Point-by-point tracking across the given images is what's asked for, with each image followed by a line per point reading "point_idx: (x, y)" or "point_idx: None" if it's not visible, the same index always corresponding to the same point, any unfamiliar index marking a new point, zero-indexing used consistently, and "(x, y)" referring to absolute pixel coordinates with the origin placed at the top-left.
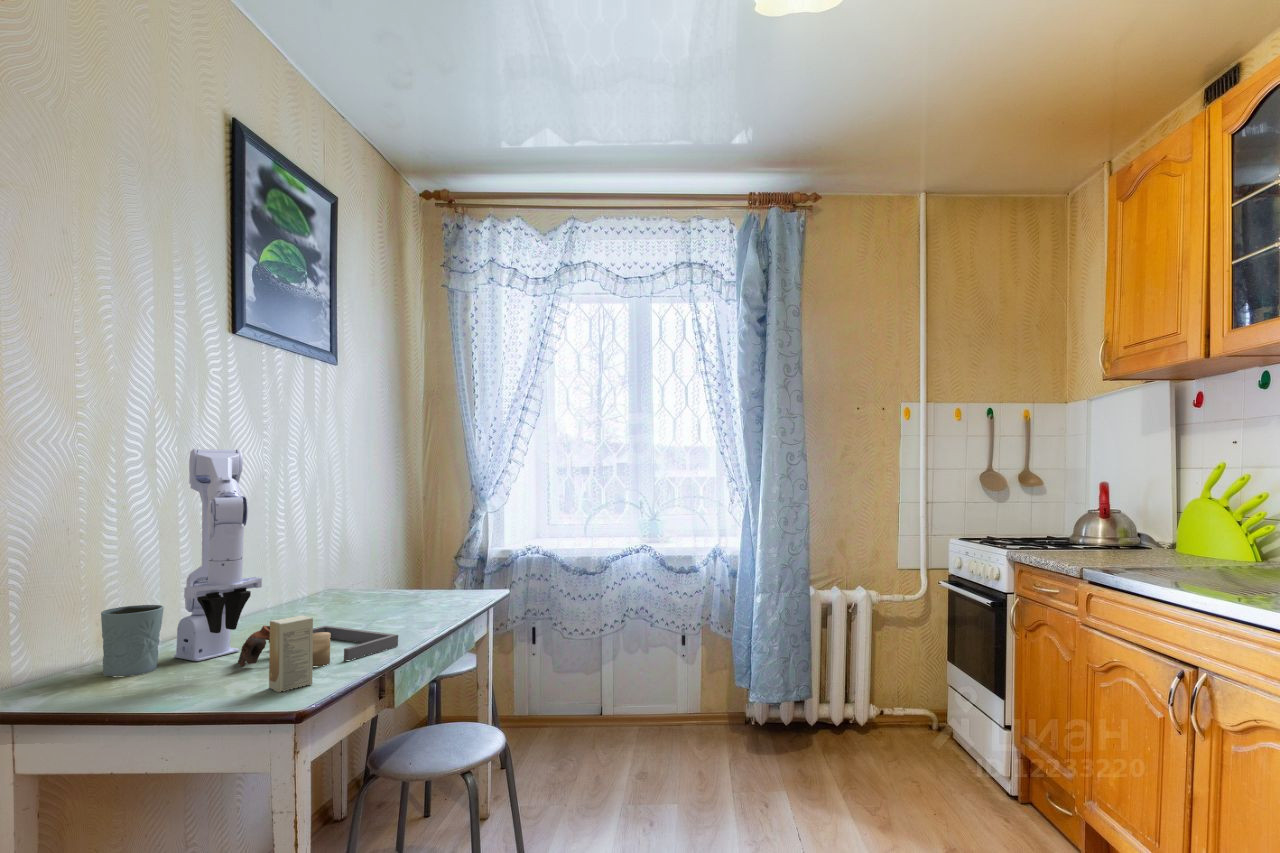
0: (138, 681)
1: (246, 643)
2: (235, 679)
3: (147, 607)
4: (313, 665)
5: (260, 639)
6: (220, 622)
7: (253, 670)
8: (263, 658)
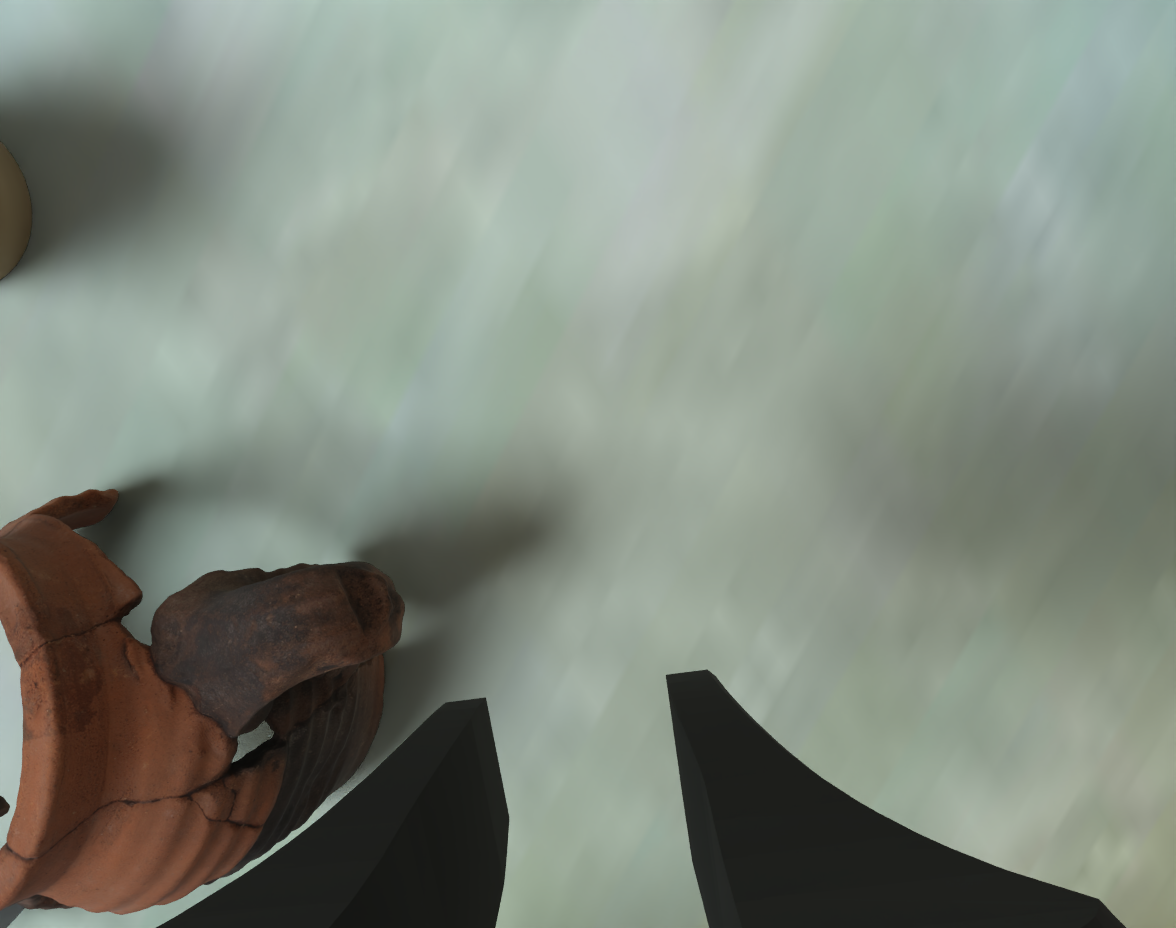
0: None
1: (355, 623)
2: (587, 358)
3: None
4: (4, 156)
5: (192, 647)
6: (699, 723)
7: (380, 487)
8: None
